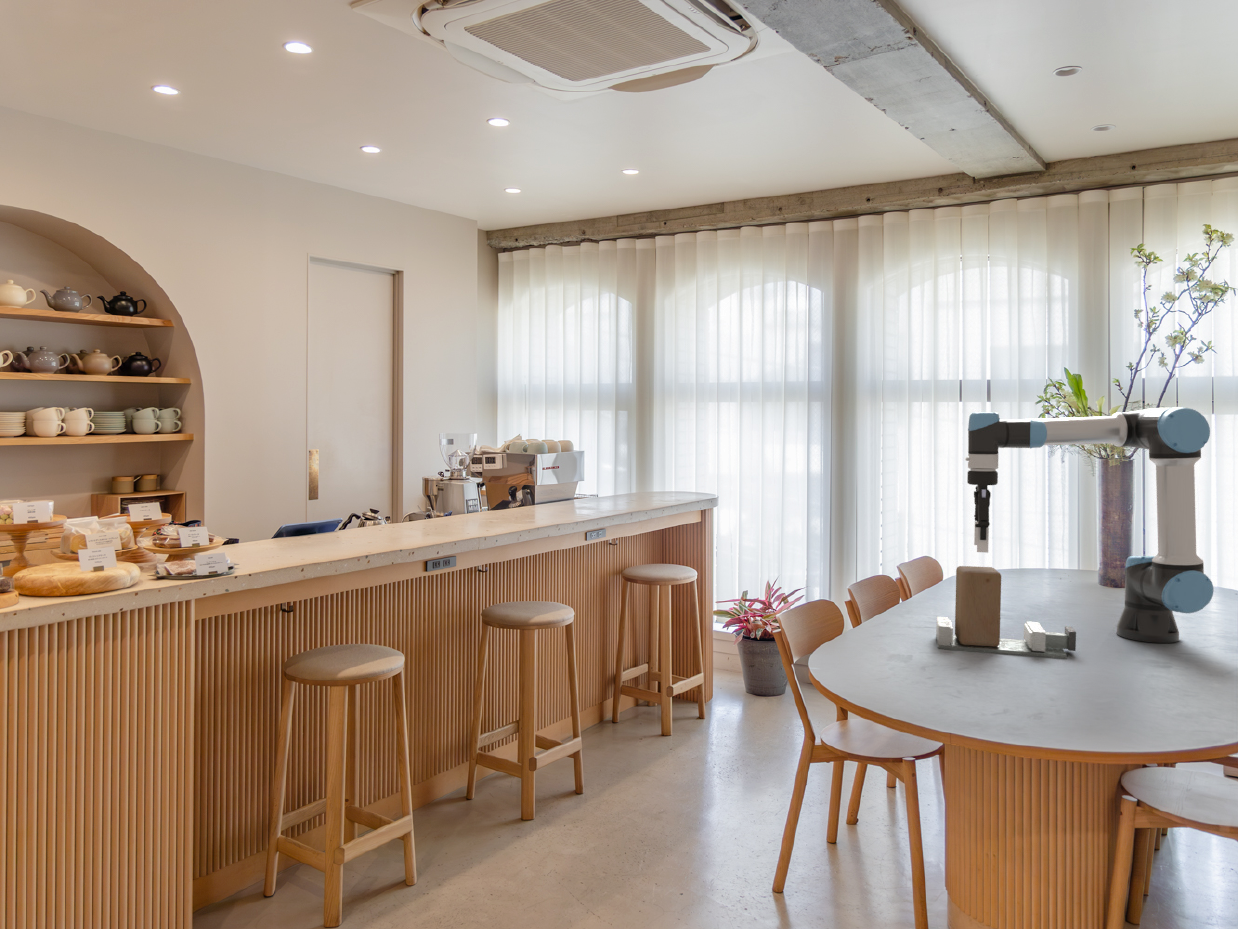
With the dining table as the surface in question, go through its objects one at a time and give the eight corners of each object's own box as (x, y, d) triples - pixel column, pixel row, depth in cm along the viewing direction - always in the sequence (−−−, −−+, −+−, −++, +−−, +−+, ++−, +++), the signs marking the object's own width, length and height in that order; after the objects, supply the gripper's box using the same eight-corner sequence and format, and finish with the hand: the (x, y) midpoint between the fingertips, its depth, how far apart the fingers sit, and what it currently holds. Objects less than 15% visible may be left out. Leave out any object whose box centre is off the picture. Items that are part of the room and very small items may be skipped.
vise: (1057, 646, 235) (1058, 624, 235) (1066, 658, 223) (1067, 635, 223) (936, 637, 245) (936, 616, 244) (938, 648, 232) (938, 626, 232)
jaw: (1068, 642, 234) (1069, 624, 234) (1077, 654, 223) (1078, 634, 222) (1023, 639, 237) (1024, 621, 237) (1029, 650, 226) (1030, 631, 226)
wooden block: (1000, 648, 230) (1002, 572, 229) (960, 645, 232) (961, 571, 231) (992, 638, 239) (994, 566, 238) (954, 636, 241) (955, 565, 240)
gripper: (965, 467, 246) (964, 541, 247) (969, 472, 223) (968, 554, 224) (994, 467, 244) (992, 543, 245) (1001, 472, 220) (999, 556, 221)
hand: (981, 548), depth 234 cm, fingers open, 13 cm apart
